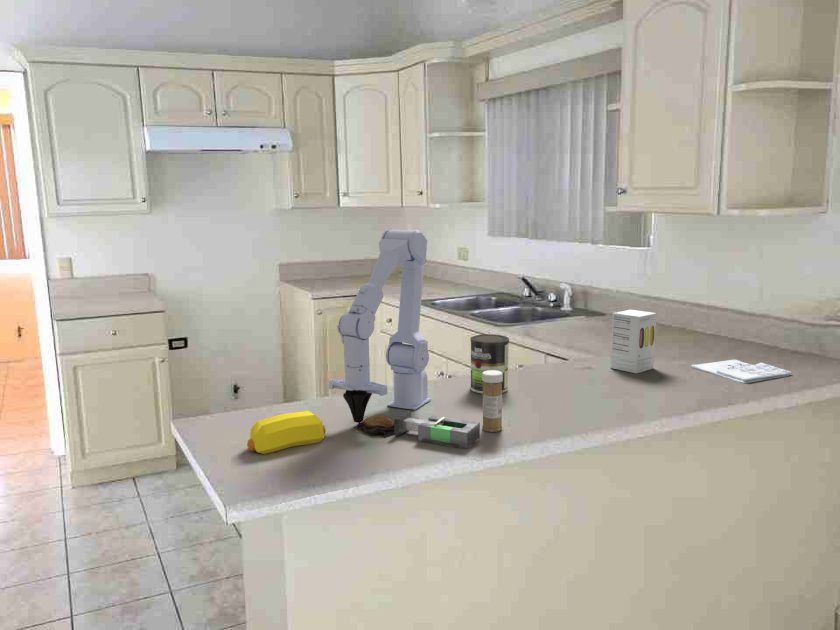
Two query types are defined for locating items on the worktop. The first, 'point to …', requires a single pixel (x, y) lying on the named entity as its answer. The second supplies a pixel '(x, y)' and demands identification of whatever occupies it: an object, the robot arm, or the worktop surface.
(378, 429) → the bread roll
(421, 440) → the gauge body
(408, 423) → the grey angular piece
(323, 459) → the worktop surface
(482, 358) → the coffee can
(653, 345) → the supplement box
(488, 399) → the sprinkles bottle
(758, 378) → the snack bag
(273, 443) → the yellow banana
